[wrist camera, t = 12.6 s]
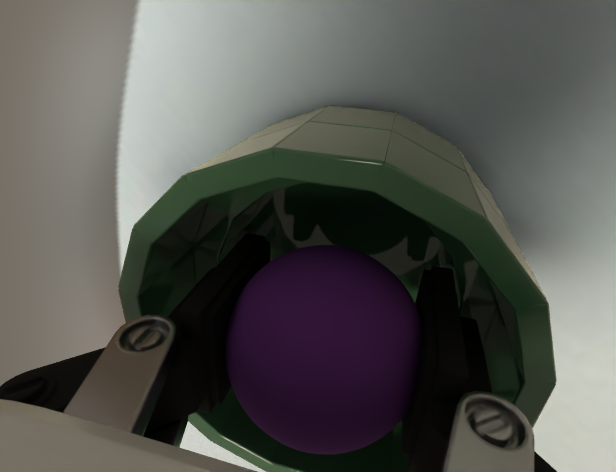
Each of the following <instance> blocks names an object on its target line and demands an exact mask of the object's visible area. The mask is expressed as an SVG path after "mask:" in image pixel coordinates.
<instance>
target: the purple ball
mask: <svg viewBox="0 0 616 472" xmlns="http://www.w3.org/2000/svg"><path fill="white" fill-rule="evenodd" d="M421 348H422V320H421V317H420V314H419V311H418V309H417V306H416V304H415V302H414V300H413V298H412V296H411V295H410V293H409V292H408V290H407V289H406V287H405V286H404V285H403V283H402V282H401V281H400V280H399V279H398V278H397V277H396V275H395V274H394V273H392V272H391V271H390V270H389V269H388V268H387V267H385V266H384V265H383V264H382V263H380V262H379V261H377V260H375V259H374V258H372V257H370V256H368V255H366V254H364V253H362V252H359V251H356V250H354V249H350V248H346V247H342V246H334V245H316V246H308V247H303V248H299V249H295V250H292V251H290V252H287V253H285V254H283V255H281V256H279V257H277V258H275V259H274V260H272V261H270V262H269V263H268V264H266V265H265V266H264V267H263V268H261V269H260V270H259V271H258V272H257V273H256V274H255V275H254V276H253V277H252V278H251V279H250V281H249V282H248V283H247V284H246V285H245V287H244V288H243V290H242V292H241V293H240V295H239V297H238V299H237V301H236V303H235V305H234V308H233V310H232V313H231V317H230V321H229V324H228V328H227V334H226V342H225V359H226V365H227V371H228V376H229V379H230V382H231V385H232V388H233V390H234V393H235V395H236V397H237V399H238V401H239V403H240V404H241V406H242V407H243V409H244V410H245V412H246V413H247V415H248V416H249V417H250V418H251V420H252V421H253V422H254V423H255V424H256V425H257V426H258V427H259V428H260V429H262V430H263V431H264V432H265V433H266V434H268V435H269V436H270V437H272V438H273V439H275V440H277V441H278V442H280V443H282V444H284V445H286V446H288V447H291V448H293V449H296V450H299V451H303V452H307V453H313V454H342V453H346V452H350V451H354V450H357V449H360V448H363V447H366V446H367V445H369V444H371V443H373V442H375V441H377V440H378V439H380V438H382V437H383V436H384V435H386V434H387V433H388V432H389V431H390V430H392V429H393V428H394V427H395V426H396V425H397V424H398V423H399V422H400V421H401V420H402V418H403V417H404V416H405V414H406V413H407V412H408V410H409V408H410V406H411V403H412V400H413V397H414V393H415V389H416V384H417V379H418V373H419V365H420V358H421Z"/></svg>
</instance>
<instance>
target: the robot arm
mask: <svg viewBox="0 0 616 472" xmlns="http://www.w3.org/2000/svg"><path fill="white" fill-rule="evenodd" d="M270 247H271V246H270V242H269V241H266V240H265V237H264V236H262V235H256V234H251V233H246V234H245V235H244V236H243V237H242V238H241V239H240V241H239V242H238V243H237V244H236V245H235V246H234V247H233V248H232V250H231V251H230V252H229V253H228V254H227V255H226V256H225V257H224V259H223V260H222V261H221V262H220V263H219V264H218V265H217V267H214V268H211V269H210V270H209V271H208V272H207V273H206V274H205V276H204V277H203V278H202V279H201V280H200V281H199V282H198V283H197V284H196V285H195V287H194V288H193V289H192V290H191V291H190V292H189V293H188V294H187V295H186V297H185V298H184V299H183V300H182V301H181V302H180V303H179V304H178V305H177V307H176V308H175V309H174V310H173V311H172V312H171V313H170V314H169V315H168V316H167V317H165V316H162V315H145V316H141V317H137V318H135V319H133V320H130V321H128V322H127V323H125V324H124V325H123V326H121V327H120V328H119V329H118V331H117V332H116V333H115V334H114V336H113V337H112V339H111V340H110V342H109V343H108V345H107V346H106V347H105V348H103V349H99V350H96V351H92V352H89V353H86V354H83V355H79V356H76V357H73V358H69V359H66V360H63V361H60V362H56V363H53V364H50V365H47V366H43V367H40V368H37V369H33V370H30V371H27V372H25V373H22V374H20V375H17V376H15V377H14V378H12V379H10V380H8V381H7V382H5V383H4V384H3V385H2V386H0V472H257V471H253V470H250V469H247V468H244V467H240V466H237V465H234V464H231V463H227V462H224V461H221V460H218V459H215V458H211V457H208V456H205V455H202V454H198V453H195V452H192V451H189V450H185V449H182V448H179V447H180V444H181V441H182V438H183V434H184V431H185V428H186V425H187V422H188V417H189V415H191V414H193V413H195V412H196V411H201V412H204V413H208V414H210V413H211V412H212V410H213V408H214V406H215V404H216V403H222V402H223V401H224V399H225V397H226V395H227V394H228V392H229V390H230V388H231V386H232V385H231V382H230V379H229V376H228V371H227V365H226V359H225V342H226V334H227V328H228V324H229V321H230V317H231V313H232V310H233V308H234V305H235V303H236V301H237V299H238V297H239V295H240V293H241V292H242V290H243V288H244V287H245V285H246V284H247V283H248V282H249V281H250V279H251V278H252V277H253V276H254V275H255V274H256V273H257V272H258V271H259V270H260V269H261V268H263V267H264V266H265V265H266V264H268V263H269V262H270ZM415 304H416V306H417V309H418V311H419V314H420V317H421V320H422V348H421V358H420V365H419V373H418V379H417V384H416V389H415V393H414V397H413V400H412V403H411V406H410V408H409V410H408V412H407V413H406V414H405V416H404V417H403V418H402V440H401V453H402V454H404V455H408V456H409V471H411V472H557V471H556V470H554V469H553V468H552V467H551V466H550V465H549V464H548V463H547V462H546V461H545V460H543V459H542V458H541V457H540V456H539V455H538V454H537V453H536V452H535V451H534V434H533V429H532V427H531V425H530V423H529V421H528V419H527V418H526V417H525V415H524V414H523V413H522V412H521V411H520V410H519V409H518V408H517V407H516V406H515V405H513V404H512V403H511V402H509V401H508V400H506V399H504V398H502V397H500V396H498V395H496V394H493V393H492V388H491V383H490V379H489V374H488V369H487V365H486V360H485V355H484V351H483V346H482V341H481V337H480V332H479V327H478V324H477V321H476V320H475V319H471V318H466V317H461V316H460V313H459V307H458V301H457V294H456V288H455V281H454V275H453V270H452V269H448V268H443V267H437V266H432V267H431V270H426V269H424V270H423V274H422V278H421V282H420V286H419V290H418V294H417V298H416V302H415Z"/></svg>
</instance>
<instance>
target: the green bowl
mask: <svg viewBox="0 0 616 472" xmlns="http://www.w3.org/2000/svg"><path fill="white" fill-rule="evenodd" d="M246 233H251V234H256V235H262V236H264V237H265V240H266V241H269V242H270V246H271V247H270V261H272V260H274V259H275V258H277V257H279V256H281V255H283V254H285V253H287V252H290V251H292V250H295V249H299V248H303V247H308V246H316V245H334V246H342V247H346V248H350V249H354V250H356V251H359V252H362V253H364V254H366V255H368V256H370V257H372V258H374V259H375V260H377V261H379V262H380V263H382V264H383V265H384V266H385V267H387V268H388V269H389V270H390V271H391V272H392V273H394V274H395V275H396V277H397V278H398V279H399V280H400V281H401V282H402V283H403V285H404V286H405V287H406V289H407V290H408V292H409V293H410V295H411V296H412V298H413V300H414V302H416V298H417V294H418V290H419V286H420V282H421V278H422V274H423V270H424V269H426V270H431V267H432V266H437V267H443V268H448V269H452V270H453V275H454V281H455V288H456V294H457V301H458V307H459V313H460V316H461V317H466V318H471V319H475V320H476V321H477V324H478V327H479V332H480V337H481V341H482V346H483V351H484V355H485V360H486V365H487V369H488V374H489V379H490V383H491V388H492V393H493V394H496V395H498V396H500V397H502V398H504V399H506V400H508V401H509V402H511V403H512V404H513V405H515V406H516V407H517V408H518V409H519V410H520V411H521V412H522V413H523V414H524V415H525V417H526V418H527V419H528V421H529V423H530V425H531V427H532V428H533V426H534V424H535V423H536V421H537V419H538V417H539V415H540V413H541V411H542V410H543V408H544V406H545V404H546V402H547V400H548V398H549V397H550V395H551V393H552V391H553V389H554V387H555V385H556V371H555V361H554V351H553V342H552V332H551V322H550V312H549V303H548V301H547V300H546V297H545V295H544V293H543V291H542V289H541V287H540V285H539V284H538V282H537V280H536V278H535V276H534V274H533V272H532V270H531V268H530V267H529V265H528V263H527V261H526V259H525V257H524V255H523V253H522V251H521V250H520V248H519V246H518V244H517V242H516V240H515V238H514V236H513V235H512V232H511V230H510V229H509V227H508V225H507V223H506V221H505V219H504V217H503V215H502V213H501V212H500V210H499V208H498V206H497V204H496V202H495V200H494V198H493V197H492V195H491V194H490V192H489V191H488V190H487V188H486V187H485V185H484V184H483V183H482V181H481V180H480V178H479V177H478V176H477V174H476V173H475V171H474V170H473V169H472V167H471V166H470V164H469V163H468V162H467V160H466V159H465V158H464V156H463V155H462V153H461V152H460V151H459V149H458V148H457V147H456V146H455V145H454V144H452V143H450V142H448V141H446V140H445V139H443V138H441V137H439V136H438V135H436V134H434V133H432V132H430V131H429V130H427V129H425V128H423V127H422V126H420V125H418V124H416V123H414V122H413V121H411V120H409V119H407V118H406V117H404V116H402V115H400V114H398V113H395V112H388V111H378V110H368V109H358V108H348V107H338V106H326V107H323V108H320V109H317V110H314V111H311V112H308V113H305V114H302V115H299V116H296V117H293V118H290V119H287V120H284V121H281V122H278V123H275V124H272V125H270V126H268V127H267V128H265V129H263V130H261V131H260V132H258V133H256V134H254V135H253V136H251V137H249V138H247V139H246V140H244V141H242V142H240V143H239V144H237V145H235V146H233V147H232V148H230V149H228V150H226V151H225V152H223V153H221V154H219V155H218V156H216V157H214V158H212V159H211V160H209V161H207V162H205V163H204V164H202V165H200V166H198V167H197V168H195V169H193V170H191V171H190V172H188V173H186V174H184V175H183V176H181V177H180V178H179V180H178V181H177V182H176V183H175V184H174V185H173V186H172V187H171V188H170V189H169V190H168V191H167V192H166V193H165V194H164V195H163V196H162V197H161V198H160V199H159V200H158V201H157V202H156V203H155V204H154V205H153V206H152V207H151V208H150V209H149V210H148V211H147V212H146V213H145V214H144V215H143V216H142V218H141V219H140V220H139V221H138V222H137V223H136V224H135V225H134V227H133V229H132V232H131V236H130V241H129V245H128V249H127V253H126V257H125V261H124V266H123V270H122V274H121V278H120V282H119V286H118V287H119V295H120V299H121V304H122V308H123V313H124V317H125V322H126V323H127V322H128V321H130V320H133V319H135V318H137V317H141V316H145V315H162V316H165V317H167V316H168V315H169V314H170V313H171V312H172V311H173V310H174V309H175V308H176V307H177V305H178V304H179V303H180V302H181V301H182V300H183V299H184V298H185V297H186V295H187V294H188V293H189V292H190V291H191V290H192V289H193V288H194V287H195V285H196V284H197V283H198V282H199V281H200V280H201V279H202V278H203V277H204V276H205V274H206V273H207V272H208V271H209V270H210V269H211V268H214V267H217V265H218V264H219V263H220V262H221V261H222V260H223V259H224V257H225V256H226V255H227V254H228V253H229V252H230V251H231V250H232V248H233V247H234V246H235V245H236V244H237V243H238V242H239V241H240V239H241V238H242V237H243V236H244V235H245V234H246ZM188 421H189V422H190V423H191V424H192V425H193V426H194V427H196V428H197V429H198V430H199V431H200V432H201V433H202V434H203V435H204V436H206V437H207V438H208V439H209V440H210V441H213V442H214V443H215V444H217V445H219V446H221V447H223V448H224V449H226V450H228V451H230V452H232V453H234V454H235V455H237V456H239V457H241V458H243V459H244V460H246V461H248V462H250V463H252V464H253V465H255V466H257V467H259V468H261V469H262V470H264V471H266V472H411V471H409V456H408V455H404V454H402V453H401V440H402V420H401V421H400V422H399V423H398V424H397V425H396V426H395V427H394V428H393V429H392V430H390V431H389V432H388V433H387V434H386V435H384V436H383V437H382V438H380V439H378V440H377V441H375V442H373V443H371V444H369V445H367V446H366V447H363V448H360V449H357V450H354V451H350V452H346V453H342V454H313V453H307V452H303V451H299V450H296V449H293V448H291V447H288V446H286V445H284V444H282V443H280V442H278V441H277V440H275V439H273V438H272V437H270V436H269V435H268V434H266V433H265V432H264V431H263V430H262V429H260V428H259V427H258V426H257V425H256V424H255V423H254V422H253V421H252V420H251V418H250V417H249V416H248V415H247V413H246V412H245V410H244V409H243V407H242V406H241V404H240V403H239V401H238V399H237V397H236V395H235V393H234V390H233V388H232V386H231V388H230V390H229V392H228V394H227V395H226V397H225V399H224V401H223V402H222V403H216V404H215V406H214V408H213V410H212V412H211V413H210V414H208V413H204V412H201V411H196V412H195V413H193V414H191V415H189V417H188Z"/></svg>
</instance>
